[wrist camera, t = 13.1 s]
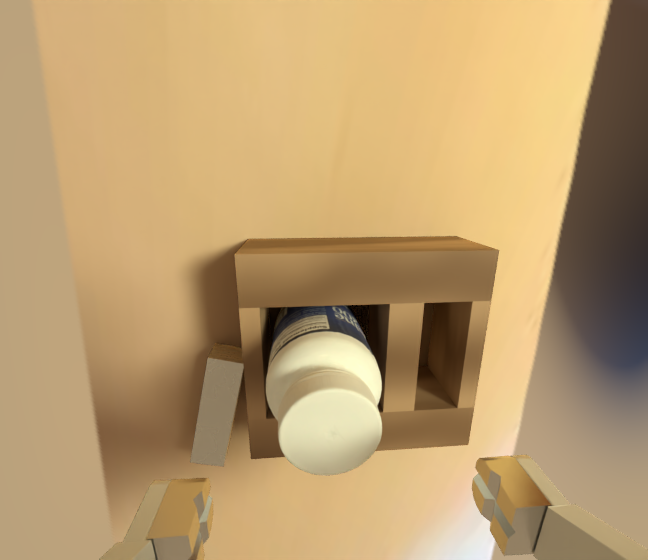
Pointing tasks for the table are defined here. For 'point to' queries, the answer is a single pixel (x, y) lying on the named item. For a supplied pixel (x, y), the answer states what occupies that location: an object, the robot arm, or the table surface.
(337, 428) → the pill bottle
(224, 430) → the slim grey peg
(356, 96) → the table surface
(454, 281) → the wooden compartment tray
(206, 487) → the robot arm
